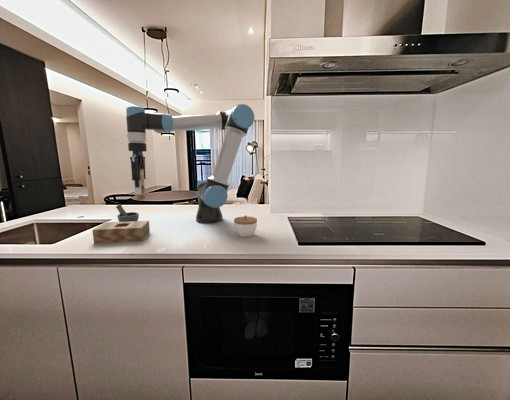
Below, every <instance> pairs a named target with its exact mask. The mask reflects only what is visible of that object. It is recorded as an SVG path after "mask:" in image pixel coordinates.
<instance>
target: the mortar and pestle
mask: <svg viewBox="0 0 510 400" xmlns="http://www.w3.org/2000/svg"><path fill="white" fill-rule="evenodd" d="M115 208H116V209H117V211H118V212H119V214H117V220H118V221H117V222H129V221H139V217H140V216H139V213H138V212H132V211H131V212H126V210H125V209H124V207H123V205H122V204H120V203H119V204H117V205H116V206H115Z"/></svg>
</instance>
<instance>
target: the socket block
mask: <svg viewBox="0 0 510 400" xmlns="http://www.w3.org/2000/svg"><path fill="white" fill-rule="evenodd" d="M150 231H151V230H150V221H149V220H138V221H129V222H119V221H108V222H106V221H105V222H103V223H102V224H99V225H98V226H96V227H95V228H93V229H92V231H91V232H92V238H93V244H105V243H125V242H126V243H127V242H143V241H144V240H145V239H146V238H147V237H148V236H149V234H150V233H151V232H150Z"/></svg>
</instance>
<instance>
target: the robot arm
mask: <svg viewBox="0 0 510 400" xmlns="http://www.w3.org/2000/svg"><path fill="white" fill-rule="evenodd" d="M125 118H126V131H127V134H126V138H127V141H128V144H127V146H128V149H127V150H128V151H129V152H132V155H131V156H130V157H129V159H130V166H131V167H130V170H131V180H132V181H133V184H134V195H141V194H142V190H141V180H140V169H143V170H144V180H147V175H146V156H144V154H143V152H144V153H145V152H147V151H148V150H147V131H149V130H150V131H154V132H155V133H157V134H163V133H171V132H172V133H173V132H184V131H185V132H186V131H197V130H198V131H199V130H201V131H202V130H211V129H213V130H214V129H218V130H219V131H225V135H224V137H223V142H222V144H221V146H220V150H219V153H218V155H217V159H216V162H215V165H214V166H213V170H212V173H211V175H210V176H208V177H207V179H206V180H199V181H197V199H198V200H197V201H198V208H197V212H196V216H195V221H196V222H198V223H201V224H213V223H218V222H221V221H223V219H224V217H223V213H222V210H221V207H223V205H225V204H226V202H227V201H228V190H229V186H230V184H229V182H228V181H229V177H230V174H231V172H232V169H233V165H234V163H235V160H236V157H237V153H238V152H239V148H240V145H241V143H242V139H244V137H246V136H247V134H248V132H249V129H250V127H251V126H253V124H254V122H255V113H254V111H253V109H252V108H251V107H250V106H249V105H248V104H245V103H239V104H236V105H234V106H233V107H231V108H230V109H228V110H224V111H217V112H216V113H214V114H213V113H212V114H211V113H209V114H207V113H206V114H193V115H189V114H188V115H175V116H173V115H172V114H169V113H159V112H146V110H145V108H144V107H143V106H138V105H129V106H127V107H126V116H125ZM145 186H146V185H144V187H145ZM144 189H145V190H146V187H145V188H144Z"/></svg>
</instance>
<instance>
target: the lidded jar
mask: <svg viewBox="0 0 510 400" xmlns="http://www.w3.org/2000/svg"><path fill="white" fill-rule="evenodd" d="M233 223H234V225H233V226H234V230H235V232H236V233H237V235H238V236H240V238H250V237H252V236H253V235H254V234H255V232H257V231H256V230H257V225H258V224H257V223H258V218H257V217H254V216H248V215H244V216H239V217H235V218H234V219H233Z"/></svg>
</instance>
